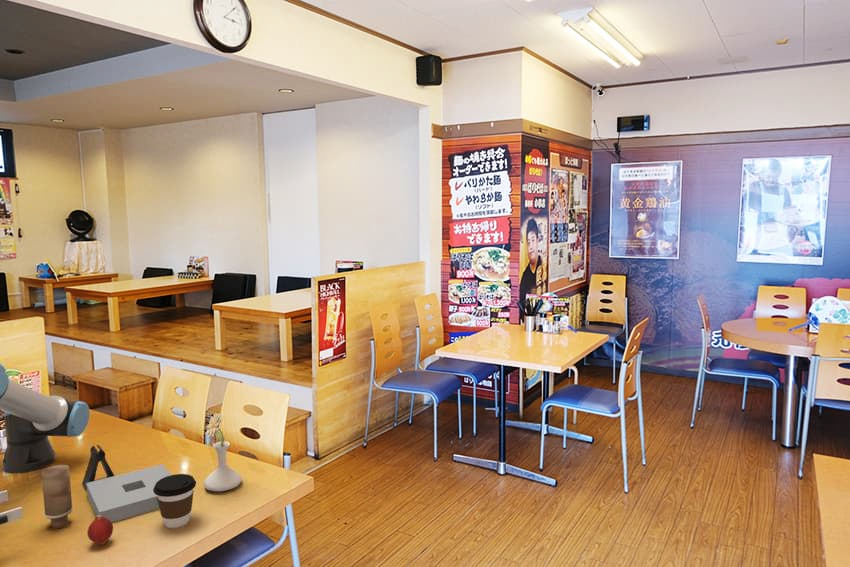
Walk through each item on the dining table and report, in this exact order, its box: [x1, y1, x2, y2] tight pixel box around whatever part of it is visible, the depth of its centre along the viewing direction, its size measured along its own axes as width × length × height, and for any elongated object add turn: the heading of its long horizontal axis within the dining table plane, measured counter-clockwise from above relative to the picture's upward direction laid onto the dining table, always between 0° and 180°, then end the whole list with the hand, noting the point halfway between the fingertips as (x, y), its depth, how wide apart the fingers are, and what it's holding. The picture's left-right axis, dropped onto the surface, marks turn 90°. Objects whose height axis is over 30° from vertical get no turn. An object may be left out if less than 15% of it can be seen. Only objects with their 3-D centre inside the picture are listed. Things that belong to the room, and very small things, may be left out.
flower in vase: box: [203, 412, 243, 492], centre depth 183 cm, size 13×11×25 cm
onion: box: [87, 515, 114, 546], centre depth 154 cm, size 6×6×8 cm
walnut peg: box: [41, 464, 74, 530], centre depth 162 cm, size 7×7×16 cm
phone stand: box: [81, 444, 115, 492], centre depth 187 cm, size 9×6×12 cm, turn 130°
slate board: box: [86, 463, 172, 524], centre depth 178 cm, size 22×22×4 cm
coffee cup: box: [153, 473, 197, 529], centre depth 164 cm, size 11×11×12 cm
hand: (14, 503), depth 155 cm, fingers open, 13 cm apart
